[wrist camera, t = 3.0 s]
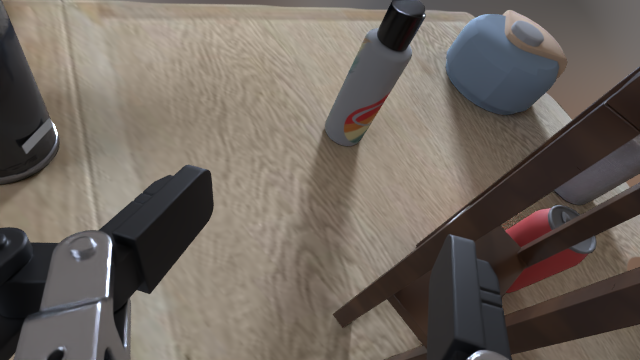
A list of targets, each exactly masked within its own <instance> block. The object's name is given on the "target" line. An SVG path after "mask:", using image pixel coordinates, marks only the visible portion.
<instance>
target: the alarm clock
mask: <svg viewBox="0 0 640 360" xmlns="http://www.w3.org/2000/svg"><path fill="white" fill-rule="evenodd" d="M446 59H447V62H446V71H447V75H448V76H449V78H450V80H451V82H452V83H453V85H454V86H455V87H456V88H457V90H458V91H459V92H460V93H461V94H463V95H464V96H465V97H466V98H467V99H468V100H470V101H471V102H473V103H474V104H476V105H477V106H479V107H481V108H483V109H485V110H487V111H490V112H493V113H497V114H503V115H509V114H514V113H516V112H522V111H526V110H527V109H528V108H529V107H531V106H532V105H533V104H534V103H535V102H536V101H537V100H538V99H539V98H540V97H541V96H542V95H543V94H545V93H546V92H547V91H548V90H549V89H550V88H551V86H552V85H553V84H554V82H555V81H556V79H557V78H558V77H559V76H560V75H561V74H562V73H563V71H564V70H565V68H566V65H567V59H566V57H565V55H564V53H563V50H562V48H561V46H560V45H559V44H558V43H557V41H556V40H555V39H554V38H553V37H552V36H551V35H550V34H549V33H548V32H547V31H546V30H545V29H543V28H542V27H540V26H539V25H538V24H537V23H535V22H533V21H532V20H530V19H528V18H527V17H525V16H522V15H520V14H518V13H516V12H514V11H512V10H508V11H506V12H505V13H504V14H503V15H498V14H484V15H482V16H479V17H477V18H475V19H472V20H471V21H470V22H469V23H468V24H467V25H466V26H465V27H464V29H463V30H462V31H461V32H460V34H459V35H458V37H457V38H456V40H455V41H454V42H453V44H452V45H451V47H450V48H449V50H448V51H447V56H446Z"/></svg>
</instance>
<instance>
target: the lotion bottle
mask: <svg viewBox="0 0 640 360" xmlns="http://www.w3.org/2000/svg"><path fill="white" fill-rule="evenodd" d="M424 12H425V6H424V5H423V4H422V3H421V2H420V1H419V0H392V2H391V5H390V6H389V8H388V10H387V12H386V15H385V17H384V19H383V21H382V23H381V25H380V27H379V28H376V29H372V30H370V31H369V32H368V33H367V35H366V37H365V39H364V41H363V43H362V45H361V47H360V49H359V51H358V53H357V55H356V58H355V60H354V62H353V64H352V66H351V68H350V70H349V73H348V75H347V77H346V79H345V81H344V83H343V85H342V88H341V90H340V92H339V94H338V96H337V98H336V100H335V103H334V105H333V107H332V109H331V111H330V113H329V116H328V118H327V120H326V123H325V130H326V133H327V135H328V136H329V137H330V138H331V139H332V140H333V141H334V142H336V143H338V144H340V145H343V146H352V145H355V144H357V143H358V142H359V141H360V140H361V138H362V137H363V135H364V134H365V132H366V131H367V129H368V127H369V126H370V124H371V123H372V121H373V119H374V118H375V116H376V114H377V113H378V111H379V110H380V108H381V106H382V105H383V103H384V101H385V100H386V98H387V97H388V95H389V93H390V92H391V90H392V88H393V87H394V85H395V84H396V82H397V80H398V79H399V77H400V75H401V74H402V72H403V70H404V69H405V67H406V66H407V64H408V62H409V60H410V59H411V56H412V50H411V47H410V45H409V44H410V43H411V41H412V39H413V38H414V36H415V34H416V32H417V31H418V29H419V27H420V26H421V24H422V22H423V21H424V19H425V17H426V15H425V13H424Z"/></svg>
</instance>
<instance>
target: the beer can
mask: <svg viewBox="0 0 640 360" xmlns="http://www.w3.org/2000/svg"><path fill="white" fill-rule="evenodd" d="M579 215H580V214H579V213H577V212H576V211H575V210H573V209H571V208H569V207H567V206H563V205H555V206H553V207H552V208H547V209H541V210H538V211H536V212H534V213H533V214H531V215H529V216H528V217H526V218H525V219H523V220H521V221H520V222H518V223H517V224H515V225H513V226H512V227H510V228H509V229H507V230H505V231H506V232H507V233H508V234H509V235H510V236H511V237H512V239H513V240H514V241H515V242H516V243H517V244H518V245H519V246H520V247H522V246H524V245H526V244H528V243H530V242H532V241H533V240H535V239H537V238H539V237H541V236H543V235H544V234H546V233H548V232H550V231H552V230H554V229H555V228H557V227H559V226H561V225H563V224H565V223H566V222H568V221H570V220H572V219H574V218H576V217H577V216H579ZM595 248H596V237H595V236H593V237H591V238H589V239H587V240H585V241H583V242H580V243H578V244H576V245H574V246H572V247H570V248H568V249H566V250H564V251H562V252H560V253H557V254H555V255H553V256H551V257H549V258H547V259H545V260H543V261H541V262H539V263H536V264H534V265H532V266H530V267H528V268H526V269H524V270H523V272H522V273H521V274H520V275H519V276H518V278H517V279H516V280H515V281H514V283H513V284H512V285H511V286H510V288H509V289H508V290H507V291H506V293H511V292H515V291H517V290H519V289H522V288H524V287H526V286H529V285H531V284H533V283H536V282H538V281H540V280H543V279H545V278H547V277H550V276H552V275H555V274H557V273H559V272H562V271H564V270H566V269H569V268H571V267H573V266H576V265H578V264H579V263H580V262H581V261H582V260H583V259H584V258H585V257H586V256H587V255H588V254H589V253H592V252H593V251H594V250H595Z"/></svg>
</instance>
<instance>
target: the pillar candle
mask: <svg viewBox="0 0 640 360" xmlns="http://www.w3.org/2000/svg"><path fill="white" fill-rule="evenodd" d="M638 174H640V135H638V136H637V137H635V138H634V139H632V140H631V141H629V142H628V143H626V144H624V145H623V146H621V147H620V148H618V149H617V150H615V151H614V152H612V153H611V154H609V155H608V156H606V157H604V158H603V159H601V160H600V161H598V162H597V163H595V164H594V165H592V166H591V167H589V168H588V169H586V170H584V171H583V172H581V173H580V174H578V175H577V176H575V177H574V178H572V179H571V180H569V181H568V182H566V183H564V184H563V185H561V186H560V187H558V188H557V189H555V190H554V191H555V192H556V193H558V194H559V195H560V196H561V197H562V198H563V199H564V200H566V201H568V202H570V203H572V204H576V205H583V204H586V203H588V202H591V201H592V200H594V199H596V198H598V197H600V196H601V195H603V194H605V193H607V192H608V191H610V190H612V189H614V188H615V187H617V186H619V185H621V184H622V183H624V182H626V181H628V180H629V179H631V178H633V177H634V176H636V175H638Z"/></svg>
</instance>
